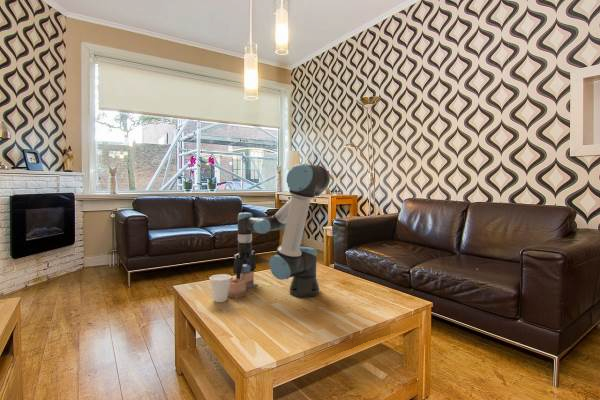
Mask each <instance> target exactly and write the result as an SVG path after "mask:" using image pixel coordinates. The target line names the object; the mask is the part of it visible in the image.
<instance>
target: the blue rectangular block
mask: <svg viewBox="0 0 600 400" xmlns="http://www.w3.org/2000/svg"><path fill="white" fill-rule="evenodd" d="M249 272H250V265H247V263H243V266H242V270H241V273H243V274H246V273H249Z"/></svg>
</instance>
